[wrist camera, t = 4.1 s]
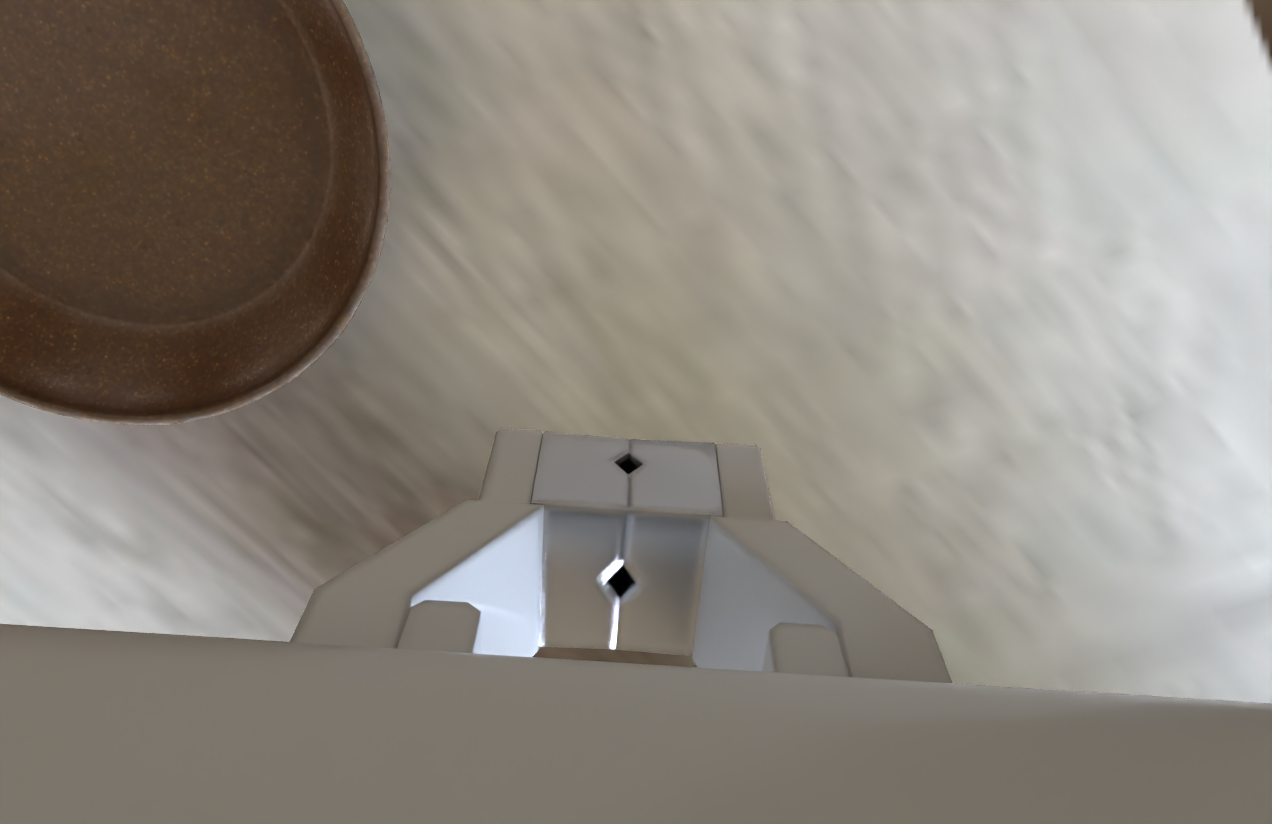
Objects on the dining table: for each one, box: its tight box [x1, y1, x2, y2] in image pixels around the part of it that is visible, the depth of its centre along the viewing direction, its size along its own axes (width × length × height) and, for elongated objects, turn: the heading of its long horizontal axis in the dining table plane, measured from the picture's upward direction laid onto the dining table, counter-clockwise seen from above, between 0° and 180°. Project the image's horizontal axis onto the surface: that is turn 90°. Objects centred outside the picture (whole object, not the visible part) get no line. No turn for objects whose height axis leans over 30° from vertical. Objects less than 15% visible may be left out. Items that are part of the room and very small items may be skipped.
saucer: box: [0, 0, 391, 425], centre depth 25 cm, size 15×15×3 cm
